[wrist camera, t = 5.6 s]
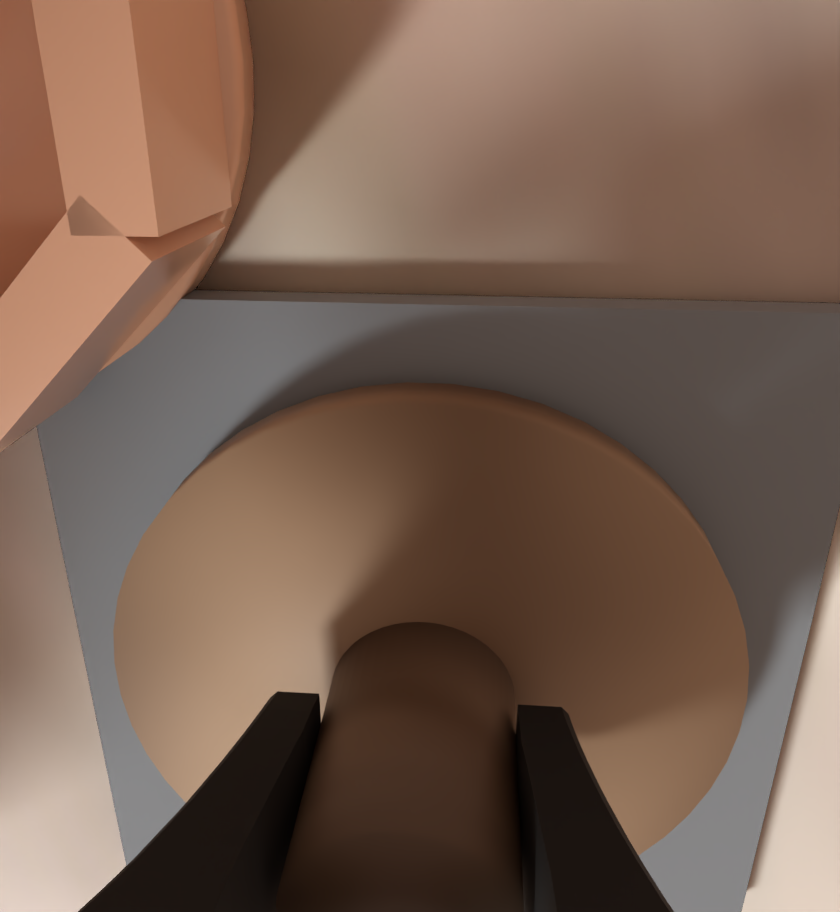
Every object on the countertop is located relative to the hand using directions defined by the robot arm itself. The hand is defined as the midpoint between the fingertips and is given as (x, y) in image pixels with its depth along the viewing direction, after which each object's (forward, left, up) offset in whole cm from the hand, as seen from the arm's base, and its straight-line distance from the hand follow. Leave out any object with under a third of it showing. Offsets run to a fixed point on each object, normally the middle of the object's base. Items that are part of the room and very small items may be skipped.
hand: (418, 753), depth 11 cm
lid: (0, 0, -2) cm, 2 cm away
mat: (0, 0, -3) cm, 3 cm away
